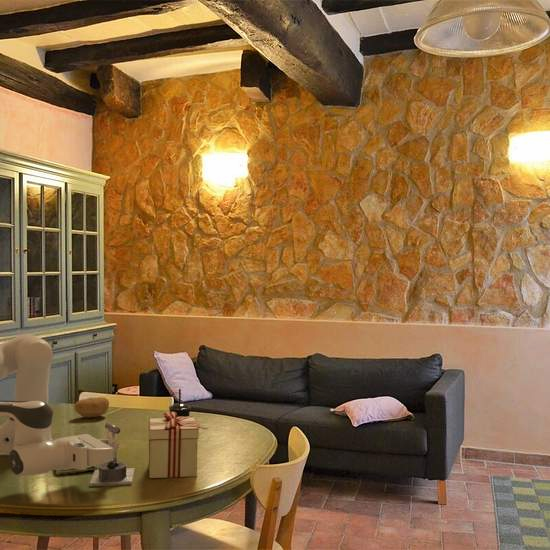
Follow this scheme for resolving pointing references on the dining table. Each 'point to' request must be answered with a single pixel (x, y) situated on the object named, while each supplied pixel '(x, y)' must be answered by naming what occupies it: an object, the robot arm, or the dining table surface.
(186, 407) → the drinking cup
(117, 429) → the chuck key
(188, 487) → the dining table surface
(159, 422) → the gift box
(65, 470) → the washcloth
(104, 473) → the chuck socket
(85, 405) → the potato
